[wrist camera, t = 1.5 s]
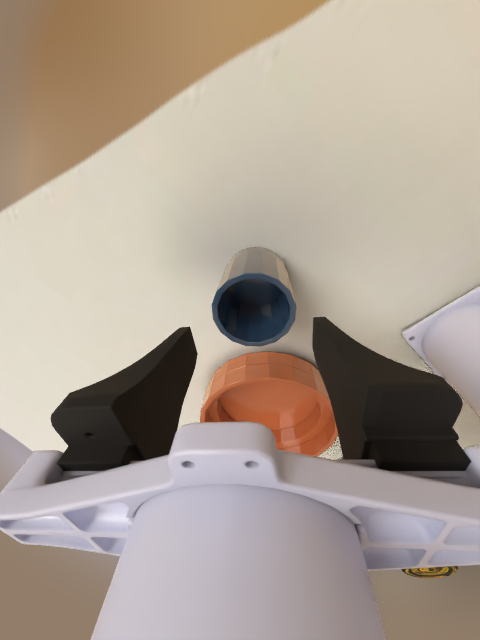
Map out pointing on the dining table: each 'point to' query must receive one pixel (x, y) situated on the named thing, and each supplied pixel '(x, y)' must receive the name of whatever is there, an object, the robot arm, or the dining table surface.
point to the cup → (254, 298)
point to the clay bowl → (274, 400)
